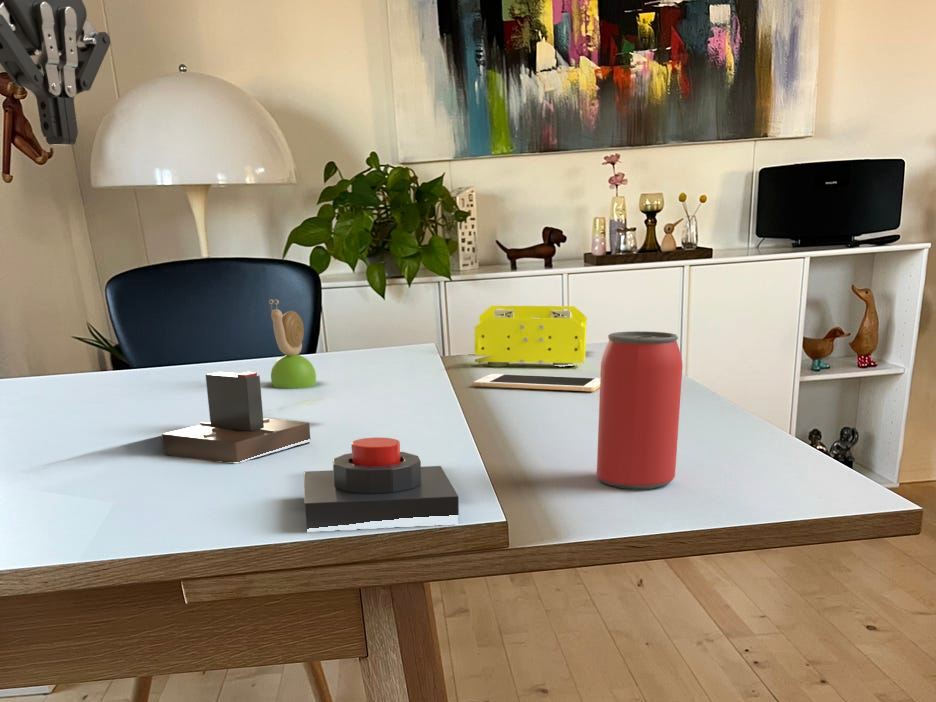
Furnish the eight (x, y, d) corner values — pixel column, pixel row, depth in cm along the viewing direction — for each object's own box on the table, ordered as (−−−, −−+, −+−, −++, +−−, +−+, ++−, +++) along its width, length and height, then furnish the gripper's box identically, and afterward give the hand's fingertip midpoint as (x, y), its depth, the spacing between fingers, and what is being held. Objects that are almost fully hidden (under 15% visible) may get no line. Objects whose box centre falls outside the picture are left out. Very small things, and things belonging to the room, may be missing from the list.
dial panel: (238, 464, 95) (235, 441, 94) (163, 454, 99) (160, 431, 98) (311, 442, 104) (310, 421, 103) (240, 434, 108) (238, 413, 107)
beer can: (620, 494, 84) (627, 341, 80) (582, 476, 90) (587, 332, 85) (689, 486, 87) (700, 337, 82) (649, 470, 92) (657, 329, 88)
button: (353, 471, 77) (352, 447, 76) (351, 461, 80) (350, 438, 79) (402, 469, 77) (401, 446, 77) (398, 459, 81) (397, 436, 80)
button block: (306, 533, 75) (302, 478, 73) (305, 498, 84) (302, 448, 82) (458, 525, 76) (458, 471, 75) (441, 492, 85) (440, 443, 84)
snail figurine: (260, 403, 126) (251, 299, 121) (285, 395, 131) (278, 295, 127) (301, 405, 124) (293, 300, 120) (325, 397, 130) (318, 296, 125)
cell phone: (491, 378, 143) (490, 373, 143) (606, 383, 138) (606, 378, 138) (472, 386, 136) (472, 381, 136) (593, 391, 132) (594, 386, 131)
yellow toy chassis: (585, 364, 157) (587, 305, 154) (583, 369, 152) (585, 309, 149) (480, 362, 159) (479, 305, 156) (474, 367, 154) (474, 308, 151)
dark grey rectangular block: (210, 427, 101) (204, 371, 99) (224, 423, 103) (219, 369, 101) (250, 431, 99) (245, 375, 97) (264, 428, 101) (259, 372, 99)
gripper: (61, -64, 94) (89, 149, 100) (-73, -99, 83) (-32, 142, 89) (121, -75, 90) (147, 147, 97) (-10, -113, 80) (28, 139, 86)
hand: (61, 144), depth 93 cm, fingers closed
